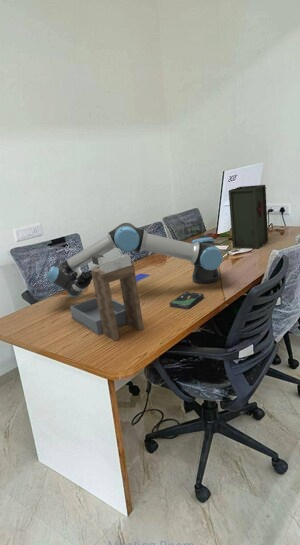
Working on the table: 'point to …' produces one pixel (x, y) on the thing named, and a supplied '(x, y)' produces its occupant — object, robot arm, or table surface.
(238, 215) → the first aid box
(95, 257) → the t handle
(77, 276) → the robot arm
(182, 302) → the disk drive
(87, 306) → the tray
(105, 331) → the bridge
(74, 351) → the table surface
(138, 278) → the hard drive
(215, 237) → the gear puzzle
